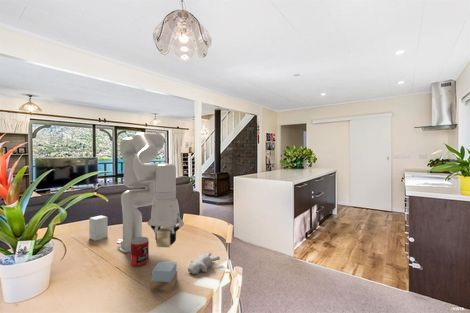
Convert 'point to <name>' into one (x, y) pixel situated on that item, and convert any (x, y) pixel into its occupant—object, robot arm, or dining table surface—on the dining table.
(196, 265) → the white figure shaped piece
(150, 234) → the dining table surface
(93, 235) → the supplement box
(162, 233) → the maple block
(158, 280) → the tower top block
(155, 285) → the tower base block
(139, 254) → the canned food
